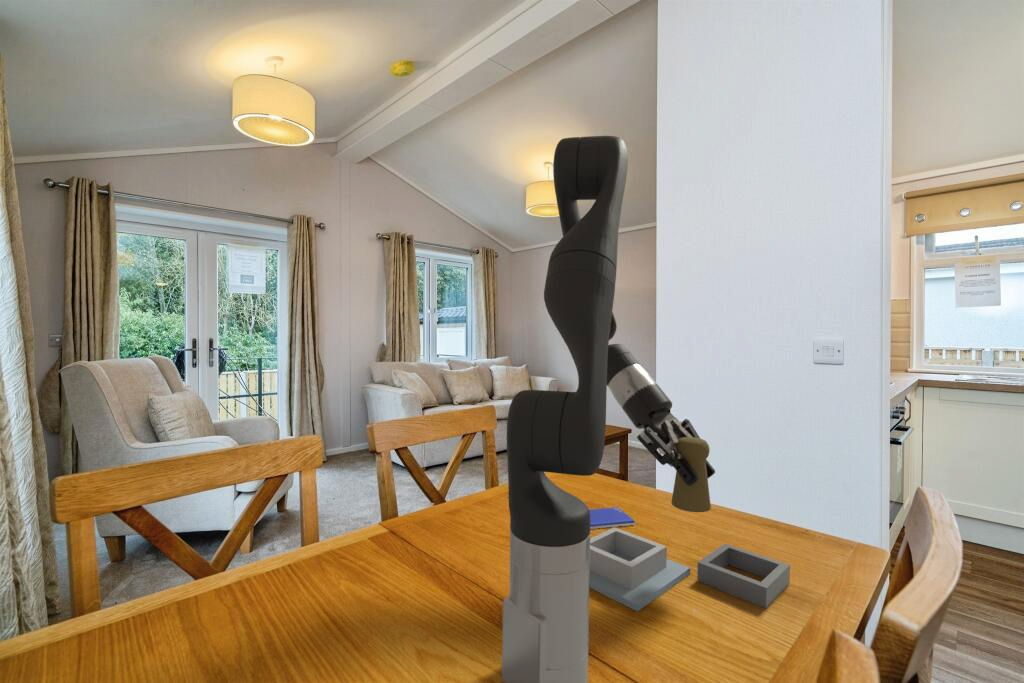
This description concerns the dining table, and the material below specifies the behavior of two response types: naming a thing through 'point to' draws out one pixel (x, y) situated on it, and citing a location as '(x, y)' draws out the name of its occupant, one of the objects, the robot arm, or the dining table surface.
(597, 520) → the blue book
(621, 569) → the dock
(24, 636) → the dining table surface
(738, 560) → the holster
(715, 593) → the dining table surface
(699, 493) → the cork
